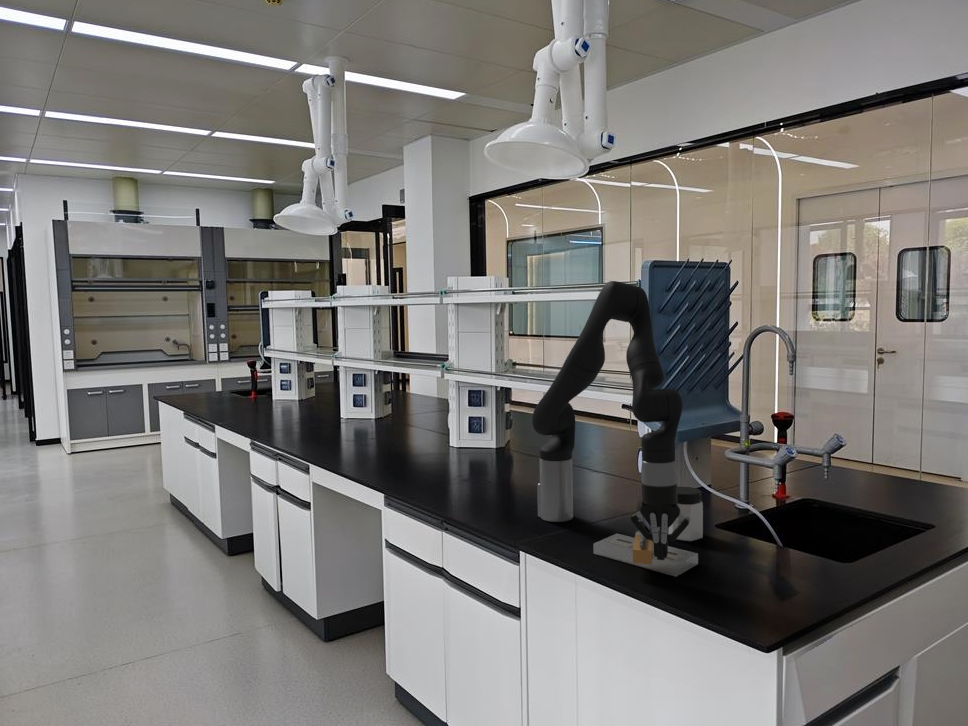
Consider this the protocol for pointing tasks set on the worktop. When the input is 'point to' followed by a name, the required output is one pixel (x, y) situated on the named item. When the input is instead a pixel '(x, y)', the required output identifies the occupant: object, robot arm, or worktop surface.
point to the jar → (690, 513)
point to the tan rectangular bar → (642, 549)
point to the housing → (672, 564)
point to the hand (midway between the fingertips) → (661, 558)
